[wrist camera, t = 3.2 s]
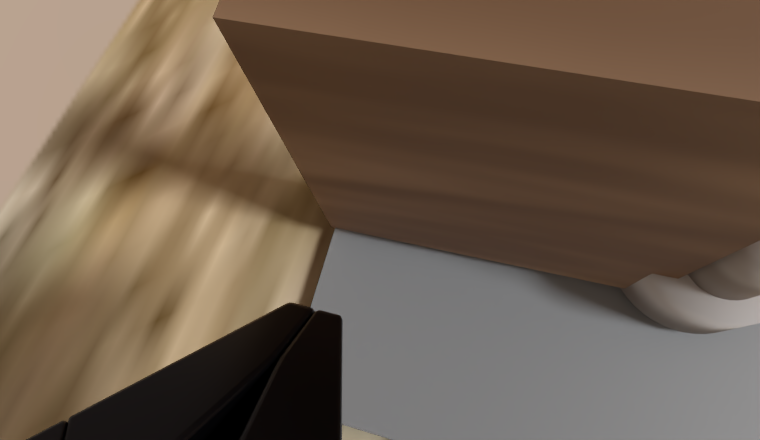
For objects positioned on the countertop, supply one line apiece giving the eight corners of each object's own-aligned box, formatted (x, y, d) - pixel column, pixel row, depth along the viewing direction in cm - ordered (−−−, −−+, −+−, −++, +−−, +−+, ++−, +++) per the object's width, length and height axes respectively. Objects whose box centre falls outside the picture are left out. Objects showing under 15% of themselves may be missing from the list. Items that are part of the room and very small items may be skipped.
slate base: (754, 549, 13) (769, 556, 12) (283, 405, 15) (277, 405, 14) (787, 55, 17) (799, 43, 16) (412, -8, 19) (411, -21, 18)
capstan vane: (766, 350, 13) (1372, 269, 5) (325, 253, 15) (192, 67, 7) (771, 202, 14) (1266, -77, 6) (360, 128, 16) (286, -171, 8)
